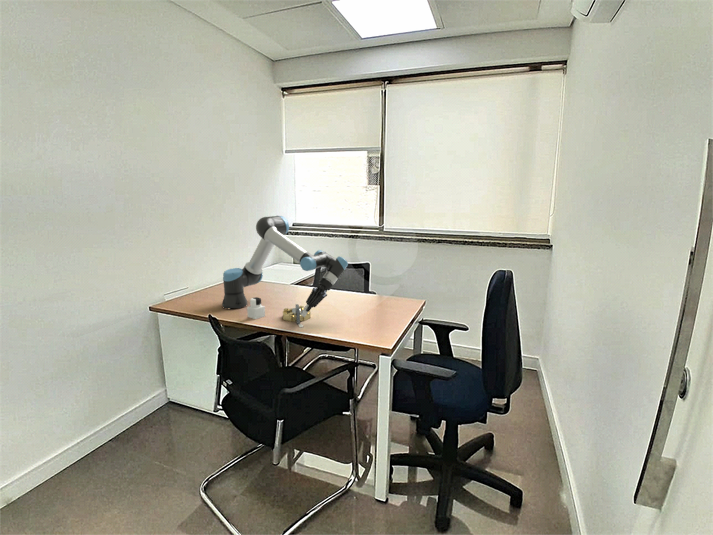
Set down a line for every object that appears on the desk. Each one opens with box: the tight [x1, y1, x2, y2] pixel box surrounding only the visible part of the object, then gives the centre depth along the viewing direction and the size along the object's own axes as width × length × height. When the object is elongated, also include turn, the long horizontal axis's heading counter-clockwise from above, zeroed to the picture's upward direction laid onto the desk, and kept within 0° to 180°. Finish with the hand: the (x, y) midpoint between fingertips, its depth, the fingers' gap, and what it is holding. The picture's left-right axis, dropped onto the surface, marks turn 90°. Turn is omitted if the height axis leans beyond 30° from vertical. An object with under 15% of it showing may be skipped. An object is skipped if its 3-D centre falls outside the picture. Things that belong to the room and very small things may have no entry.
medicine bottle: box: [246, 296, 266, 320], centre depth 213 cm, size 7×7×12 cm
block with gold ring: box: [282, 303, 312, 326], centre depth 209 cm, size 20×15×9 cm
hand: (302, 315), depth 202 cm, fingers closed
